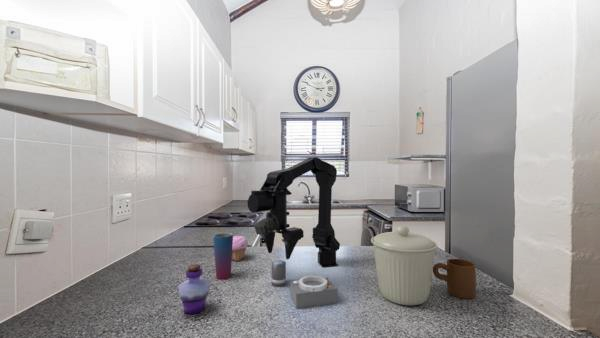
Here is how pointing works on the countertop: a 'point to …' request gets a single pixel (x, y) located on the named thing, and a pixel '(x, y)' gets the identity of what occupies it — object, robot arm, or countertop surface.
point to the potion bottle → (194, 290)
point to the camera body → (312, 291)
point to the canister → (404, 265)
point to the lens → (278, 273)
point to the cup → (223, 254)
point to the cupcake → (238, 247)
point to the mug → (458, 277)
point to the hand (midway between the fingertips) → (278, 255)
